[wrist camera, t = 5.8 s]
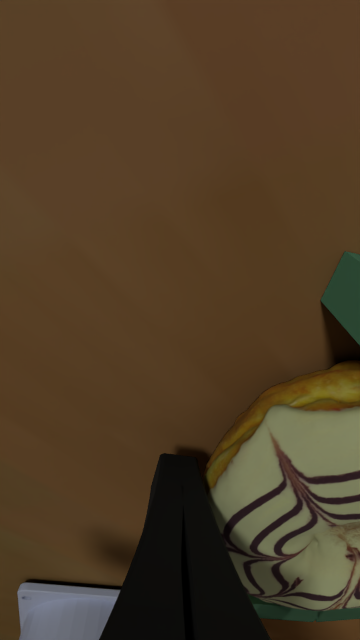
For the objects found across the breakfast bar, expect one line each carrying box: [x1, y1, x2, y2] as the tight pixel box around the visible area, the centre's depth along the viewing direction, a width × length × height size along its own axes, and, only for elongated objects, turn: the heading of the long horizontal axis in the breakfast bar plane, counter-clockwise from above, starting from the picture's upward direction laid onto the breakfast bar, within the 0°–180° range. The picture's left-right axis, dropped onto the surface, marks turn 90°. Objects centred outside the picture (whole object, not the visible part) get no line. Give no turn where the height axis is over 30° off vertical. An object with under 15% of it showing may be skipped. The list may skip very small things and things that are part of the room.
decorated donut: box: [203, 360, 360, 611], centre depth 11 cm, size 10×11×4 cm
